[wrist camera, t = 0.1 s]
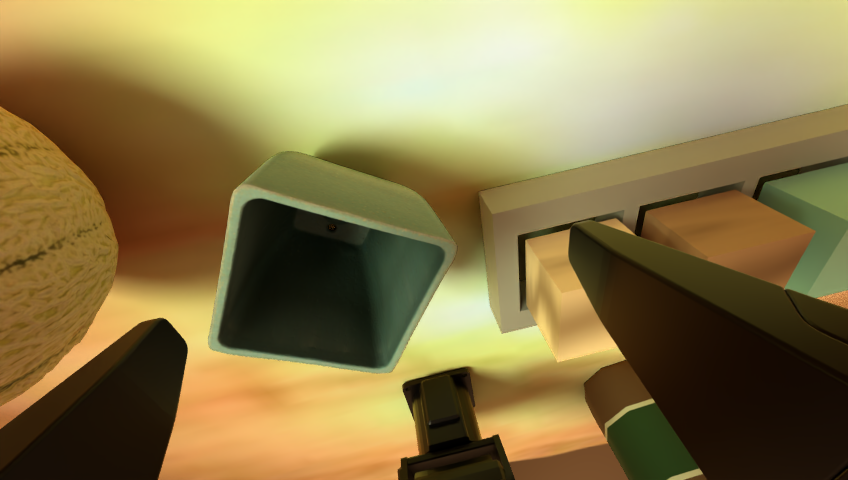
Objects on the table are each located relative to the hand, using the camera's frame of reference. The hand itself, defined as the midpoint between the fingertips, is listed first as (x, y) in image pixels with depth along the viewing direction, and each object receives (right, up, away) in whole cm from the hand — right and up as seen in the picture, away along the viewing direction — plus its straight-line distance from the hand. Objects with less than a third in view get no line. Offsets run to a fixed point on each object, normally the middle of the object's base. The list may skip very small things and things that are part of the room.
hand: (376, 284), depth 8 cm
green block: (+26, +3, +17) cm, 32 cm away
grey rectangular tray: (+18, +3, +19) cm, 27 cm away
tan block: (+19, +1, +17) cm, 25 cm away
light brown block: (+11, -1, +17) cm, 20 cm away
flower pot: (-4, +3, +15) cm, 16 cm away
